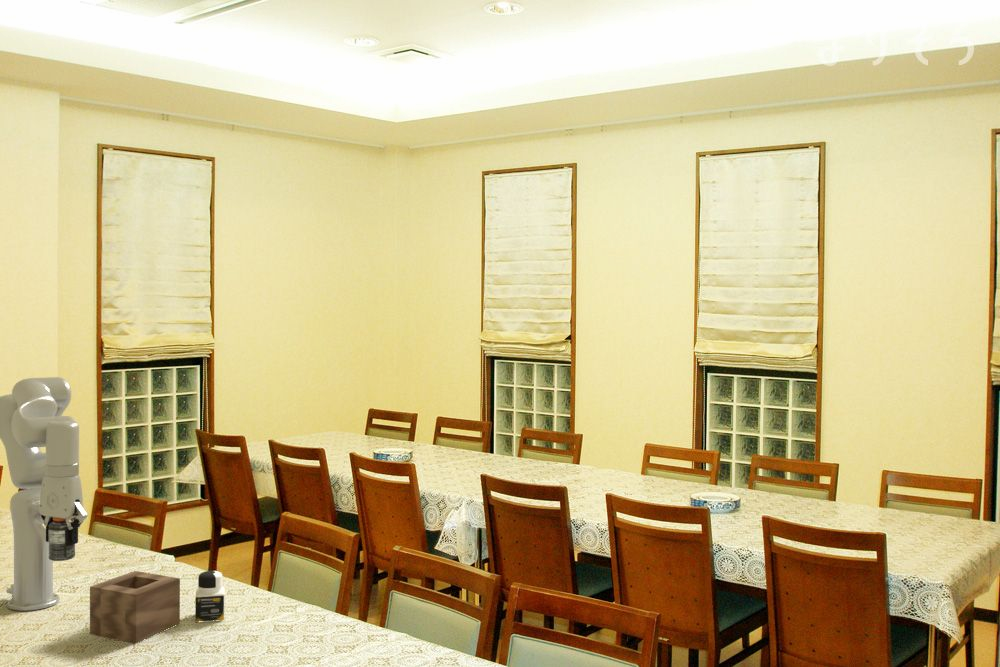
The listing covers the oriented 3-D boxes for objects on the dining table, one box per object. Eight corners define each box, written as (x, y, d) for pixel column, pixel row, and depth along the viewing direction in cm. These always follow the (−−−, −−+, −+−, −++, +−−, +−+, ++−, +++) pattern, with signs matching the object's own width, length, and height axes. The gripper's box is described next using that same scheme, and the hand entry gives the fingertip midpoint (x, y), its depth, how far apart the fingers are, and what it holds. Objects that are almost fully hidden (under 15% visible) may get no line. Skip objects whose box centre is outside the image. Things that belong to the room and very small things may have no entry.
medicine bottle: (195, 623, 241) (195, 577, 241) (196, 614, 248) (196, 569, 248) (224, 621, 243) (224, 575, 243) (224, 612, 250) (224, 568, 250)
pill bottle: (68, 553, 236) (68, 509, 236) (79, 558, 233) (79, 513, 232) (44, 558, 232) (44, 513, 231) (55, 563, 228) (55, 517, 227)
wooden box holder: (89, 634, 232) (89, 586, 232) (134, 615, 246) (135, 570, 246) (136, 643, 226) (136, 594, 226) (179, 624, 240) (179, 578, 240)
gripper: (24, 469, 231) (23, 541, 232) (76, 477, 224) (75, 551, 225) (49, 464, 238) (49, 534, 239) (100, 471, 231) (99, 543, 232)
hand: (61, 541), depth 232 cm, fingers closed on pill bottle, 6 cm apart
